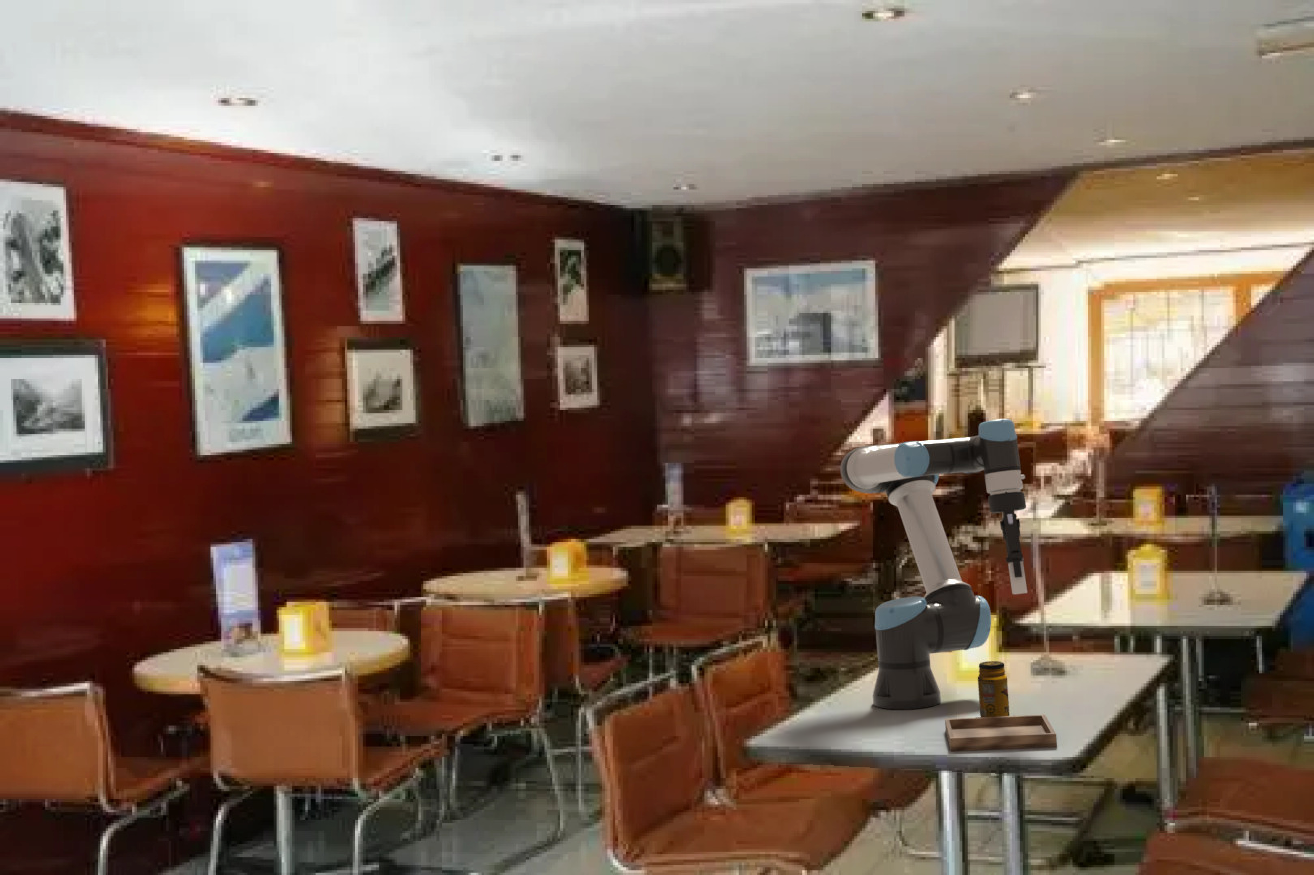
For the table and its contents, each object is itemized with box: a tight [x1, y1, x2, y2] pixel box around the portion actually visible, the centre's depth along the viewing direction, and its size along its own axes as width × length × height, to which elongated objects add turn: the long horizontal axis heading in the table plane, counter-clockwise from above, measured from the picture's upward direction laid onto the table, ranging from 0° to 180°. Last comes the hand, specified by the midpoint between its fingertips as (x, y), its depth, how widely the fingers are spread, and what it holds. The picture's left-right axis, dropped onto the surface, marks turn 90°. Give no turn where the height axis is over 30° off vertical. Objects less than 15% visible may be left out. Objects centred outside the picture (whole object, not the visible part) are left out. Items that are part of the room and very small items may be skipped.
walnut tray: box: [944, 714, 1058, 752], centre depth 295 cm, size 20×18×2 cm
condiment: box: [975, 660, 1010, 718], centre depth 313 cm, size 7×8×12 cm
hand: (1019, 593), depth 311 cm, fingers open, 13 cm apart
